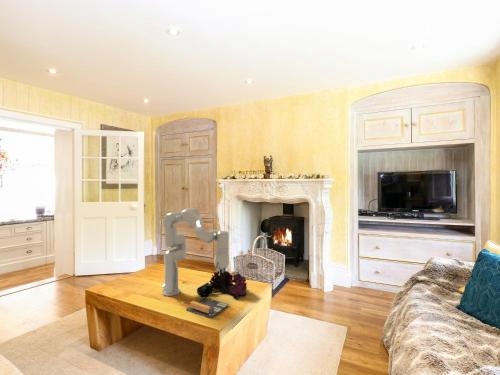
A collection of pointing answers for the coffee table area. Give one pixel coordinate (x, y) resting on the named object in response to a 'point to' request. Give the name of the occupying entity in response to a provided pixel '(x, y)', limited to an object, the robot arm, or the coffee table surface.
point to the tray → (217, 306)
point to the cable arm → (202, 307)
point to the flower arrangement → (229, 284)
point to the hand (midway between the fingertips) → (222, 278)
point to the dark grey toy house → (205, 290)
